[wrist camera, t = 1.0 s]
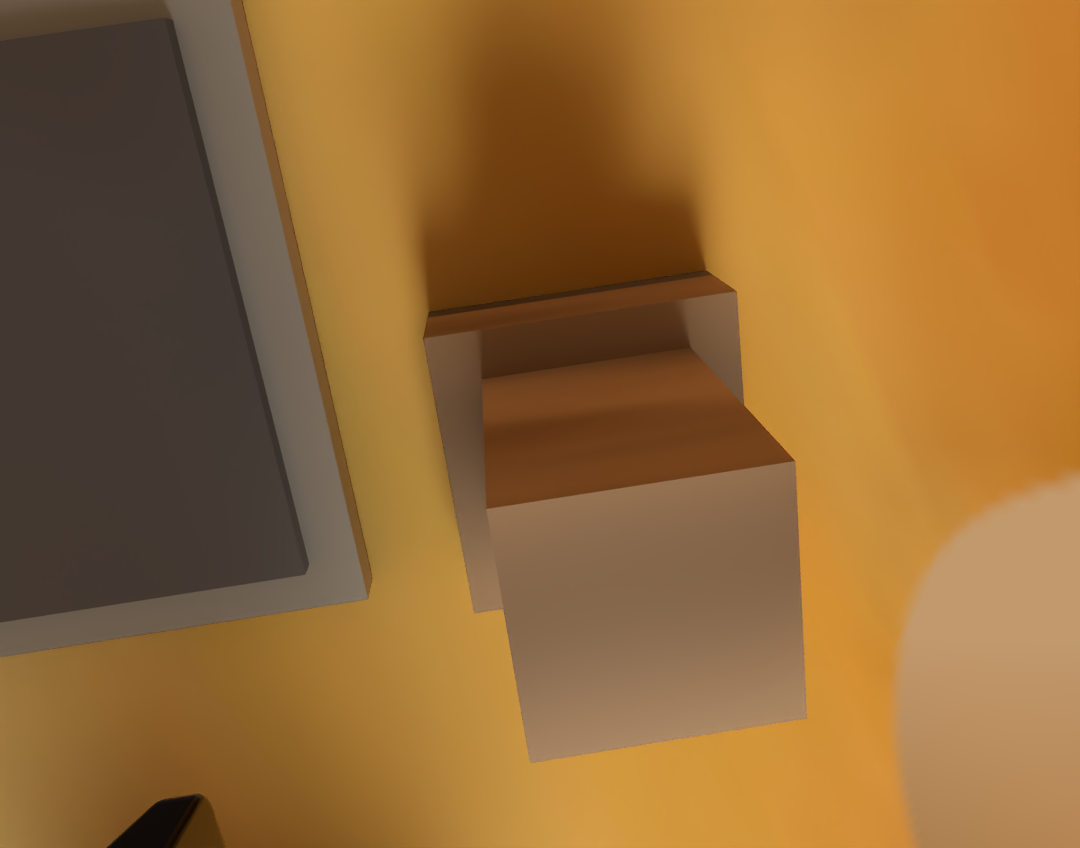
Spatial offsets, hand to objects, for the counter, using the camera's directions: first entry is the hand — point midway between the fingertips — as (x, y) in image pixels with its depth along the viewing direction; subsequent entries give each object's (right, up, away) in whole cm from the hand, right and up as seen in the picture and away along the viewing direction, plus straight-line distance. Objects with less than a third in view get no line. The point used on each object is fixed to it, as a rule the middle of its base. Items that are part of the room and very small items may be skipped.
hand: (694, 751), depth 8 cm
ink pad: (-11, +4, +7) cm, 14 cm away
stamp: (-1, +3, +9) cm, 9 cm away
